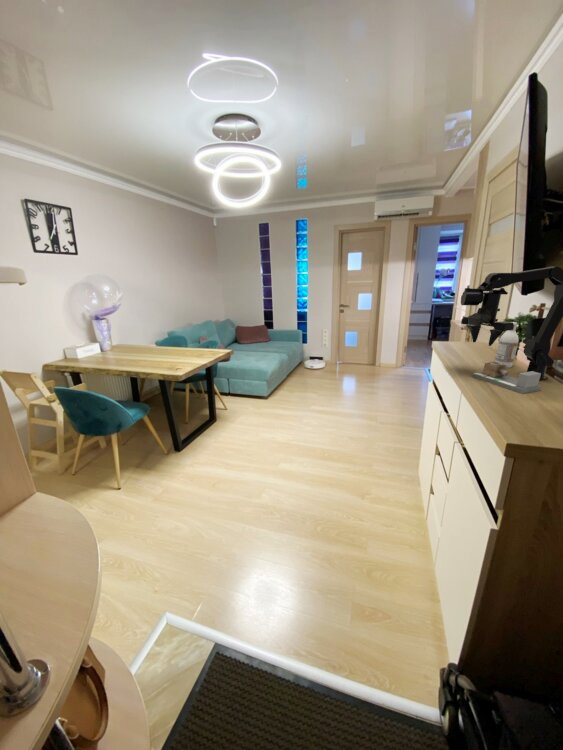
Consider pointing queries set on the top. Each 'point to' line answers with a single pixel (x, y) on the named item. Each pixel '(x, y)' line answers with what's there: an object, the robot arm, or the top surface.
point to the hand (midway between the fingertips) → (481, 344)
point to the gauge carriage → (495, 369)
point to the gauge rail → (514, 381)
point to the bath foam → (507, 347)
